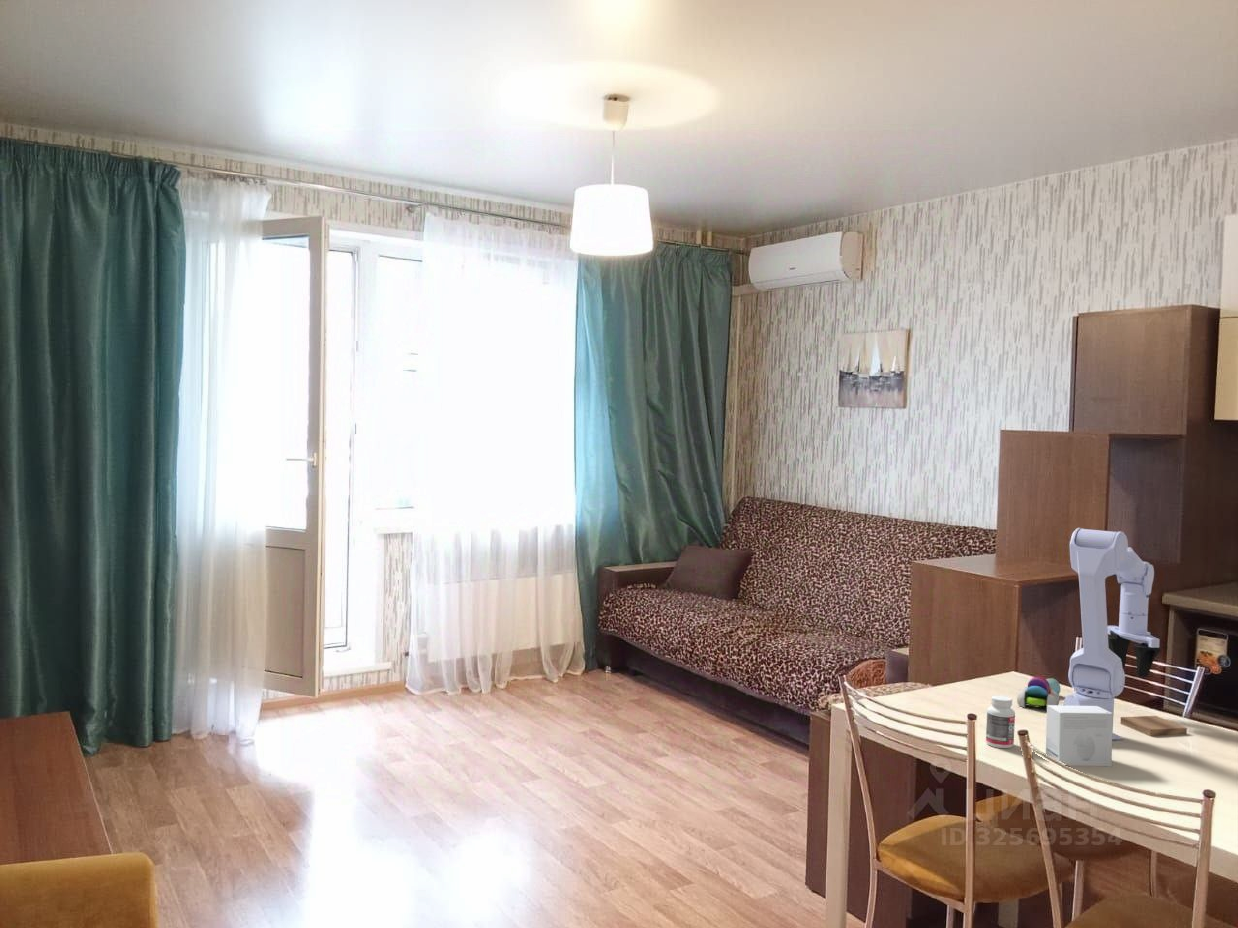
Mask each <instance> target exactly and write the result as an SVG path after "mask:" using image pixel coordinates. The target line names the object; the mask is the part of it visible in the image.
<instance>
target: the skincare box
mask: <svg viewBox="0 0 1238 928" xmlns="http://www.w3.org/2000/svg"><path fill="white" fill-rule="evenodd" d="M1112 724H1113V725H1114V716H1113V713H1111V712H1109V711H1107V710H1105V709H1103V708H1101V707H1099V706H1067V705H1061V704H1060V705H1046V727H1045V728H1046V732H1045V733H1046V734H1045V755H1046V754H1047V755H1049V756H1051V757H1053V758H1055V759H1056V760H1058V761H1061V762H1062V763H1064V764H1066V765H1069V767H1070V766H1071V767H1077V766H1078V767H1112V765H1113V759H1112V758H1113V757H1112V756H1113V740H1112Z"/></svg>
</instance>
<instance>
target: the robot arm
mask: <svg viewBox="0 0 1238 928" xmlns="http://www.w3.org/2000/svg"><path fill="white" fill-rule="evenodd" d="M1128 542H1129V541H1128V537H1127V535H1126V534H1125V532H1123V531H1111V530H1099V529H1087V528H1082V527H1077V528H1075V530H1074V531H1073V532H1072V534H1071V537H1070V540H1069V556H1070V558H1069V559H1070V566H1071V567H1070V568H1071V569H1072V570H1073V571H1074V572H1076V573H1077V574H1078V582H1079V583H1078V585H1079V599H1080V601H1079V602H1080V615H1081V616H1080V617H1081V632H1082V635H1081V636H1082V647H1081V648H1079V649H1077V650H1076V651H1074V652H1073V653H1072V654H1071V656H1070V658H1069V668H1068V673H1067V675H1068V676H1067V677H1068V682H1069V685H1070V686H1071V687H1072V688H1073V692H1074V693H1073V694H1072V693H1071V694H1068V695H1066V696H1065V698H1064V700H1063V705H1067V706H1099V707H1101V708H1103V709H1105V710H1107V711H1109V712H1111V713H1113V717H1114V715H1115V714H1114V711H1115V697H1118V696H1119V695H1120V694H1121V693H1123V690H1124V688H1125V684H1126V681H1125V680H1126V673H1125V671H1124V669H1125V667H1126V662H1127V653H1128V649H1129V646H1130V644H1131V643H1132V642H1135V643H1138V644H1133V645H1132V648H1133V651H1134V654H1135V659H1136V673H1137V677H1140V678H1147V677H1149V674H1150V671H1151V667H1152V665H1153V662H1154V660H1156V657H1157V656H1158V654H1159V653H1160V652H1161V650H1162V649H1161V647H1160V638H1157V637H1155V636H1153V635H1151V632H1149V631H1148V618H1149V599H1150V598H1149V597H1150V595H1151V593H1152V587H1153V583H1154V579H1155V577H1154V576H1155V570H1154V569H1155V568H1154V565H1153V564H1150V562H1148V561H1143V559H1142V558H1141V557H1139V555H1138V554H1137V553H1136V552H1135V551H1134V549H1133V548H1132V547H1129V544H1128ZM1114 575H1116V580H1117V583H1118V584H1120V596H1119V600H1120V601H1119V616H1118V617H1119V619H1118V620H1119V622H1118V626H1117V625H1108V612H1107V594H1106V593H1107V592H1106V579H1107V578H1108V577H1111V576H1114ZM1131 641H1132V642H1131ZM1122 739H1123V737H1122V736H1121V735H1118V734H1116V733H1114V723H1113V724H1112V741H1114V740H1115V741H1116V740H1119V741H1120V740H1122Z"/></svg>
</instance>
